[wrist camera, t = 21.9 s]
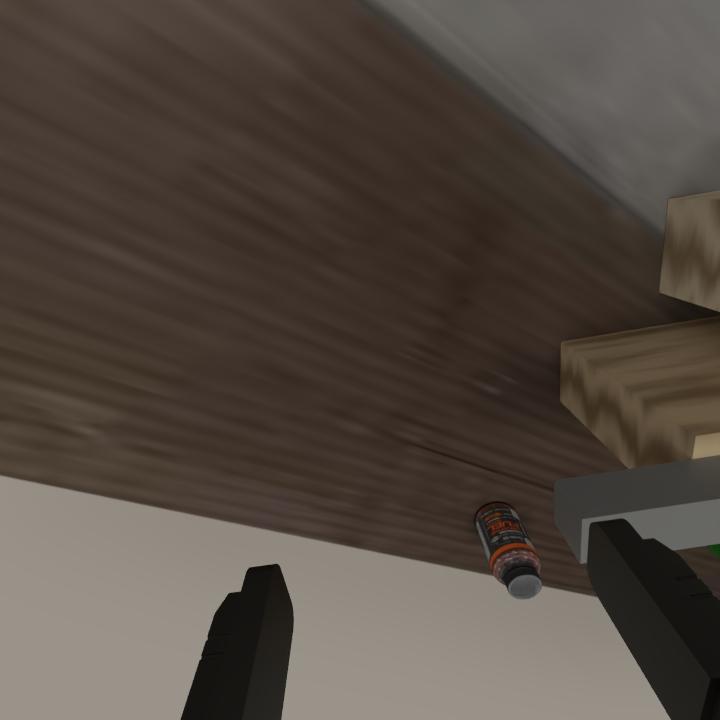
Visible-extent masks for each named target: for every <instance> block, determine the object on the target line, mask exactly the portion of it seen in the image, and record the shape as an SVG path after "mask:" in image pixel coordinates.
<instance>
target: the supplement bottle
mask: <svg viewBox="0 0 720 720" xmlns="http://www.w3.org/2000/svg"><path fill="white" fill-rule="evenodd" d="M475 525H476V529H477V531H478V534H479V537H480V540H481V542H482V545H483V548H484V551H485V553H486V556H487V559H488V561H489V564H490V567H491V570H492V572H493V574H494V576H495V578H496V579H497V580H498V581H499V582H500V583H502V584H504V585H506V587H507V589H508V592H509V594H510V595H511V596H513V597H514V598H516V599H529V598H532V597H534V596H536V595H537V594H538V593H539V592H540V590H541V588H542V582H541V579H540V577H539V575H538V574H539V572H540V568H541V563H540V559H539V557H538V555H537V553H536V551H535V549H534V547H533V545H532V543H531V541H530V539H529V537H528V535H527V533H526V531H525V529H524V527H523V525H522V523H521V521H520V519H519V517H518V515H517V513H516V512H515V510H514V509H513V508H512V507H511V506H509V505H507V504H504V503H493V504H489V505H487V506H485V507H483V508H482V509H481V510H480V511H479V512H478V513H477V515H476V518H475Z"/></svg>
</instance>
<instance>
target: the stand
mask: <svg viewBox="0 0 720 720" xmlns="http://www.w3.org/2000/svg"><path fill="white" fill-rule="evenodd" d="M659 293H662V294H665V295H668V296H671V297H674V298H677V299H680V300H684V301H687V302H690V303H693V304H696V305H699V306H702V307H706V308H709V309H712V310H715V311H718V312H720V190H717V191H711V192H706V193H700V194H695V195H689V196H683V197H678V198H672V199H668V209H667V219H666V228H665V238H664V248H663V258H662V268H661V278H660V287H659ZM560 402H561V403H562V404H563V405H564V406H565V407H566V408H567V409H568V410H569V411H570V412H571V413H572V414H573V415H574V416H576V417H577V418H578V419H579V420H580V421H581V422H582V423H583V424H584V425H585V426H586V427H587V428H588V429H589V430H590V431H591V432H592V433H593V434H594V435H595V436H596V437H597V438H598V439H599V440H600V441H601V442H602V443H603V444H604V445H605V446H606V447H607V448H608V449H609V450H610V451H611V452H612V453H613V454H614V455H615V456H616V457H617V458H618V459H619V460H620V461H621V462H622V463H623V464H624V465H625V466H626V467H627V468H628V469H631V468H638V467H644V466H651V465H657V464H664V463H670V462H677V461H683V460H690V459H696V458H703V457H710V456H716V455H720V315H719V316H713V317H707V318H701V319H695V320H689V321H683V322H677V323H671V324H665V325H659V326H653V327H647V328H641V329H635V330H629V331H623V332H617V333H611V334H604V335H598V336H592V337H586V338H580V339H574V340H568V341H562V342H561V368H560Z"/></svg>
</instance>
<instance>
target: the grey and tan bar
mask: <svg viewBox="0 0 720 720" xmlns="http://www.w3.org/2000/svg"><path fill="white" fill-rule="evenodd" d="M620 518H623V519H625V520H627V521H628V522H629V523H630V524H631V525H632V526H633V528H634V529H635V530H636V531H637V532H638V534H639V535H640V536H641V537H642V539H650V538H655V539H656V540H658V541H659V542H661V543H662V544H664V545H665V546H667V547H668V548H670V549H671V550H679V549H686V548H693V547H700V546H707V545H714V544H720V455H716V456H710V457H703V458H696V459H690V460H683V461H677V462H670V463H664V464H657V465H651V466H644V467H638V468H631V469H625V470H618V471H612V472H605V473H598V474H592V475H585V476H579V477H572V478H566V479H559V480H554V522H555V524H556V526H557V527H558V529H559V530H560V532H561V534H562V535H563V537H564V538H565V540H566V542H567V543H568V545H569V546H570V548H571V550H572V551H573V553H574V554H575V556H576V558H577V559H578V561H579V562H580V564H582V563H587V553H588V537H589V526H590V524H591V523H592V522H598V521H605V520H613V519H620Z"/></svg>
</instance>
